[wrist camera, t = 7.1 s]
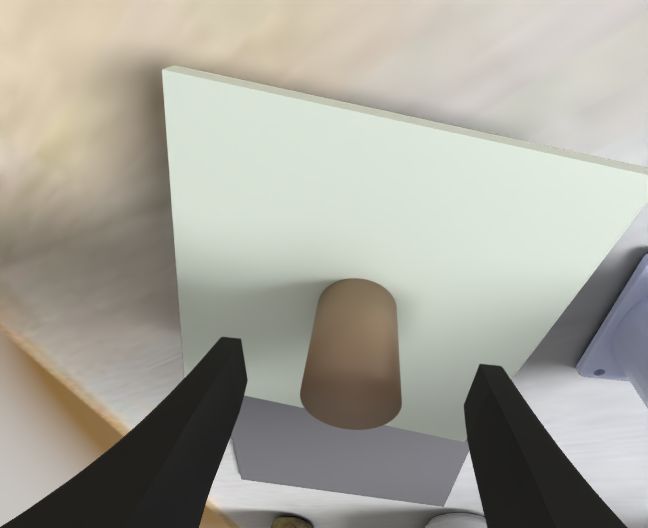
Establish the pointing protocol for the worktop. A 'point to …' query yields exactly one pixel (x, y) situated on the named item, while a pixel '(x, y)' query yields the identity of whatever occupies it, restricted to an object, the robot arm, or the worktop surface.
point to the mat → (343, 455)
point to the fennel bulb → (290, 523)
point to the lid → (374, 247)
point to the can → (457, 521)
